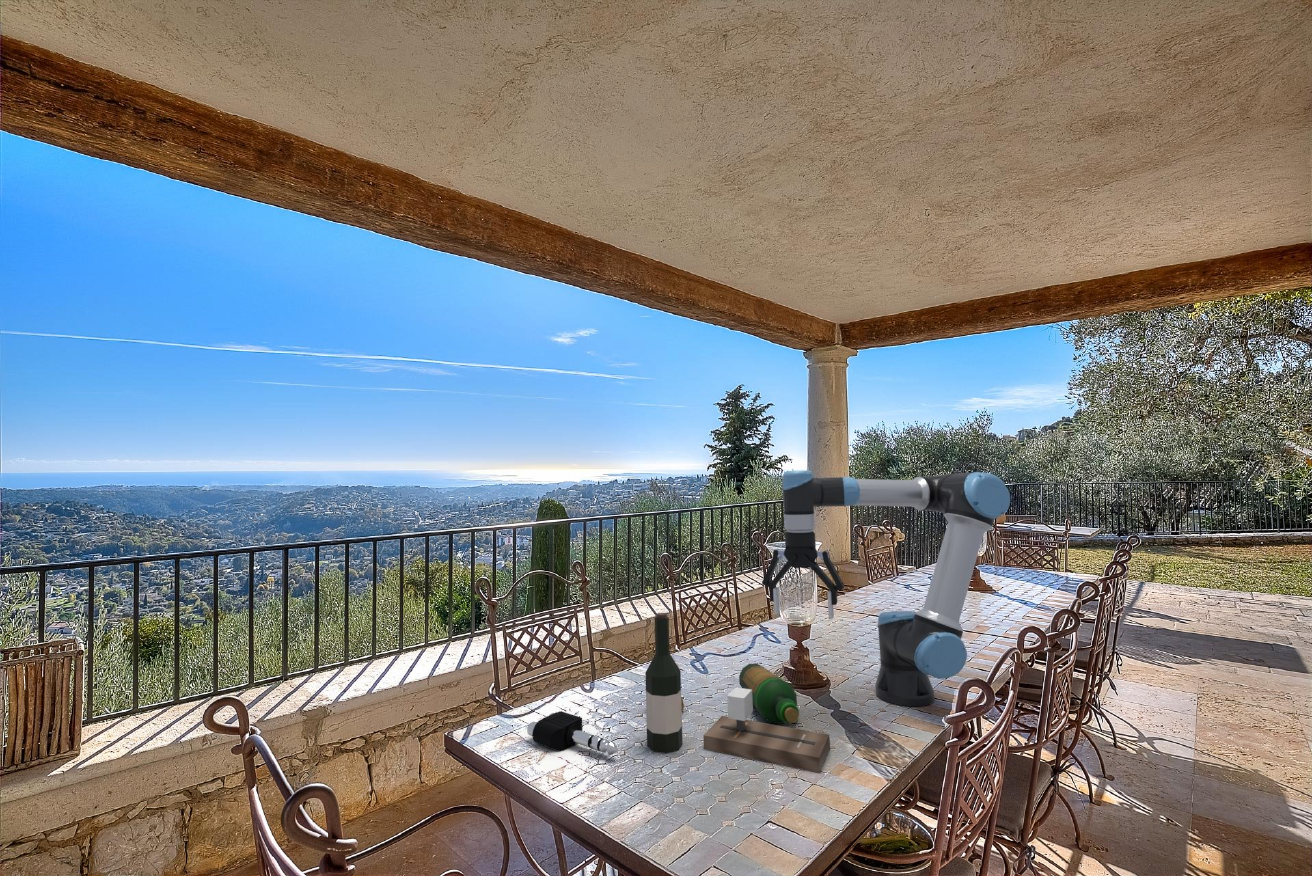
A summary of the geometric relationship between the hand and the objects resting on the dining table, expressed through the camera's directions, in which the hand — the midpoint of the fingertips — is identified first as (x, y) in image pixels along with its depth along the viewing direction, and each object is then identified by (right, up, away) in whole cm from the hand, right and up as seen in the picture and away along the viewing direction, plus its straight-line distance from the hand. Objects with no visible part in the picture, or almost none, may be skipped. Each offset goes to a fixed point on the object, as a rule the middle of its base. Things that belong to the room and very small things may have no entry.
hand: (803, 616), depth 143 cm
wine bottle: (-35, -27, -11) cm, 46 cm away
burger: (-35, -29, +9) cm, 46 cm away
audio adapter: (-56, -28, -11) cm, 63 cm away
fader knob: (-17, -23, -11) cm, 31 cm away
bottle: (-10, -24, +19) cm, 32 cm away
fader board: (-12, -26, -14) cm, 32 cm away
